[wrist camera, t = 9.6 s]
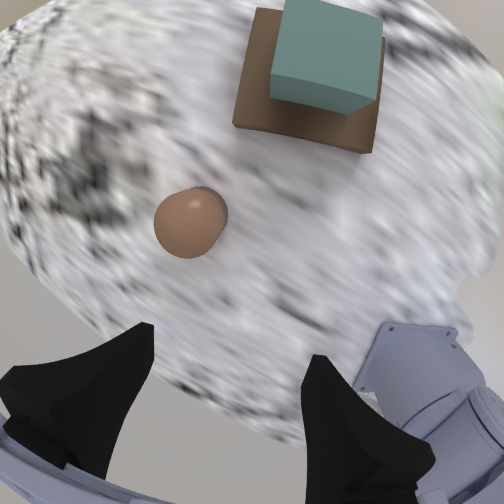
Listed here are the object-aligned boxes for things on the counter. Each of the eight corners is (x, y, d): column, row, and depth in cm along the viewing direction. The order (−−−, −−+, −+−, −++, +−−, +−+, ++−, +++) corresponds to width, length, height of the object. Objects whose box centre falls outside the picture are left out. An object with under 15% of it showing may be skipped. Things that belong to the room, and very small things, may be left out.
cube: (356, 50, 14) (382, 20, 9) (347, 115, 16) (375, 100, 11) (282, 32, 14) (286, -6, 9) (270, 97, 16) (270, 73, 11)
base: (375, 47, 15) (385, 37, 14) (362, 153, 18) (371, 153, 16) (257, 19, 15) (256, 7, 14) (235, 127, 18) (232, 123, 16)
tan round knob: (232, 191, 20) (223, 197, 16) (223, 245, 21) (213, 264, 17) (177, 182, 20) (157, 187, 16) (171, 235, 21) (151, 251, 17)
